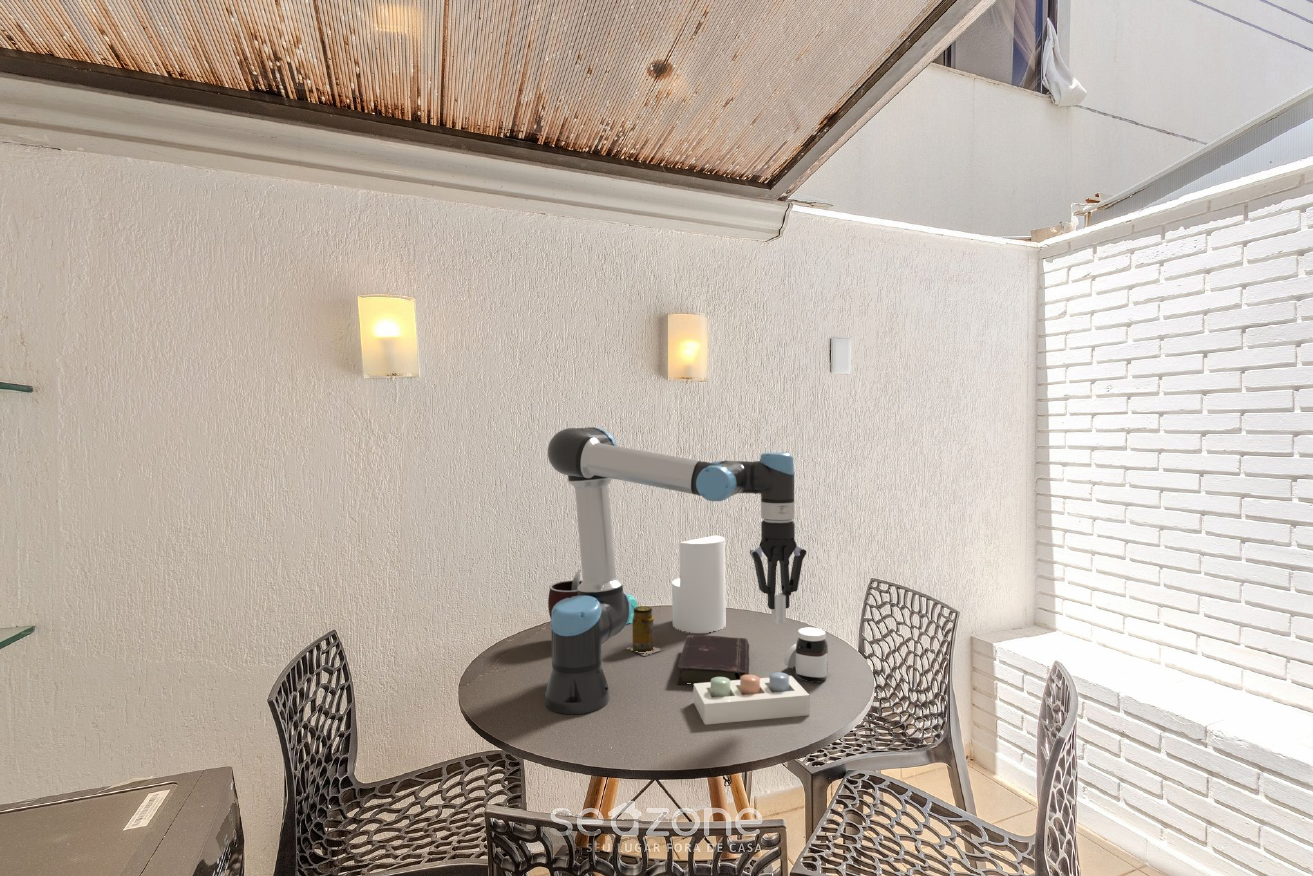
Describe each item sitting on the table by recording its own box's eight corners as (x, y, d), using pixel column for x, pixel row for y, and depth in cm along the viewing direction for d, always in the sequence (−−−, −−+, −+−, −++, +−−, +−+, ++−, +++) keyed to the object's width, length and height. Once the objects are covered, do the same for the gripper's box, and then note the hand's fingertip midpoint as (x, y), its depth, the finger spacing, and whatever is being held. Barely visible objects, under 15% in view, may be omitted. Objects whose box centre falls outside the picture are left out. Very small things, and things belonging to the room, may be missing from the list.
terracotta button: (743, 698, 142) (743, 683, 141) (738, 689, 146) (737, 675, 146) (762, 696, 142) (762, 681, 142) (756, 688, 147) (756, 673, 146)
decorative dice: (638, 619, 211) (638, 596, 211) (624, 626, 204) (624, 602, 204) (619, 616, 215) (618, 593, 215) (605, 622, 208) (604, 598, 208)
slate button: (773, 695, 143) (773, 680, 143) (767, 687, 147) (766, 673, 147) (792, 694, 143) (791, 679, 143) (785, 686, 148) (784, 671, 148)
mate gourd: (587, 651, 182) (586, 582, 181) (542, 649, 184) (541, 581, 184) (602, 633, 197) (601, 570, 197) (559, 631, 200) (558, 568, 199)
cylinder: (736, 624, 205) (736, 538, 204) (700, 637, 193) (699, 546, 192) (697, 613, 217) (696, 532, 217) (661, 624, 205) (660, 539, 205)
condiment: (645, 643, 188) (644, 603, 188) (663, 651, 182) (663, 609, 181) (625, 649, 184) (625, 608, 183) (643, 657, 177) (643, 614, 177)
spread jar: (823, 686, 156) (823, 639, 156) (778, 679, 161) (778, 633, 160) (831, 669, 167) (831, 625, 166) (789, 662, 171) (788, 620, 171)
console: (704, 724, 137) (704, 704, 137) (693, 702, 148) (693, 683, 148) (809, 715, 141) (809, 695, 140) (791, 694, 151) (791, 675, 151)
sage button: (713, 700, 140) (713, 685, 140) (708, 692, 145) (708, 677, 145) (732, 699, 141) (732, 683, 141) (727, 690, 145) (727, 676, 145)
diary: (749, 654, 180) (749, 637, 180) (749, 691, 155) (749, 671, 155) (683, 651, 183) (684, 633, 183) (673, 686, 158) (674, 666, 158)
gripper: (753, 523, 139) (754, 629, 140) (813, 521, 142) (814, 625, 142) (743, 518, 147) (744, 619, 147) (800, 516, 149) (801, 615, 150)
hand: (778, 622), depth 145 cm, fingers closed
